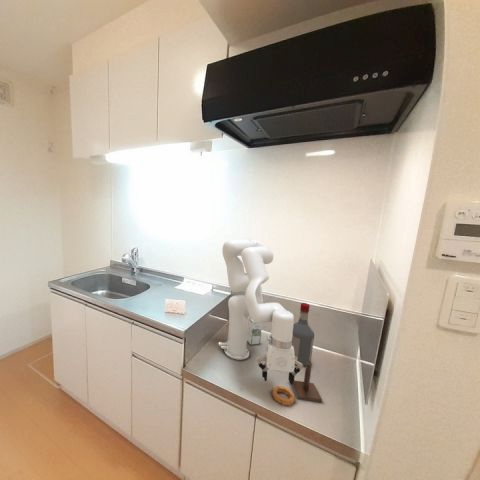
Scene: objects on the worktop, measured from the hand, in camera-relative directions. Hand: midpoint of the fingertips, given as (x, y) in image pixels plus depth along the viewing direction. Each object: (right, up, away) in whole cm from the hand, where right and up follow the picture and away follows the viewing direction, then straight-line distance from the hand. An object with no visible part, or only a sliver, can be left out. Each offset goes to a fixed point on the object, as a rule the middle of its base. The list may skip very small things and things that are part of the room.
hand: (277, 380), depth 102 cm
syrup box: (+5, -1, +40) cm, 40 cm away
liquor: (+22, -4, +25) cm, 33 cm away
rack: (+14, -7, +4) cm, 16 cm away
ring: (+3, -8, +1) cm, 8 cm away
